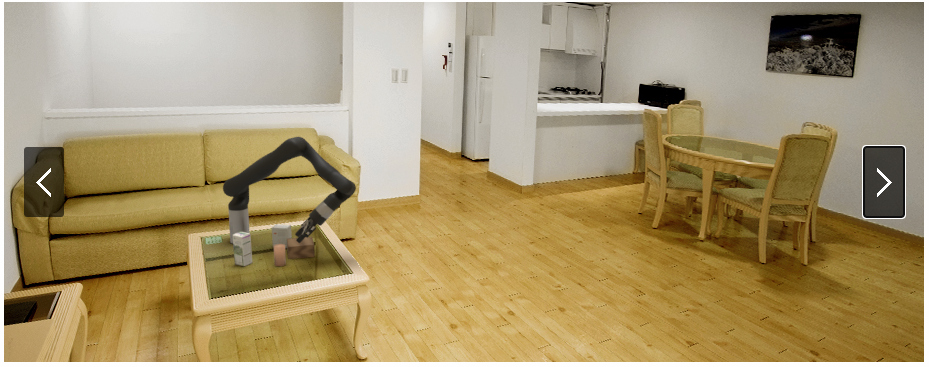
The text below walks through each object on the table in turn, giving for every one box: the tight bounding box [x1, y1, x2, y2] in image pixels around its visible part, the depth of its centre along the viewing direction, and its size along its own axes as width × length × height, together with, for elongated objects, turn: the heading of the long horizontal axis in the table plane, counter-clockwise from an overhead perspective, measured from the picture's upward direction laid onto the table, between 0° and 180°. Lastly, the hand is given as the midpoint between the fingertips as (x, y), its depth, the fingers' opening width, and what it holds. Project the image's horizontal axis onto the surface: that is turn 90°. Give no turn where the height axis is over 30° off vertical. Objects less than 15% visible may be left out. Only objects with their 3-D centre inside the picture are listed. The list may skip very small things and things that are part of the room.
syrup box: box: [232, 232, 253, 267], centre depth 280 cm, size 6×6×14 cm
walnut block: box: [286, 236, 316, 260], centre depth 295 cm, size 12×12×6 cm
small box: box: [271, 223, 293, 249], centre depth 304 cm, size 8×6×10 cm
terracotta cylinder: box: [273, 244, 287, 267], centre depth 281 cm, size 5×5×9 cm
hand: (297, 238), depth 282 cm, fingers open, 8 cm apart
